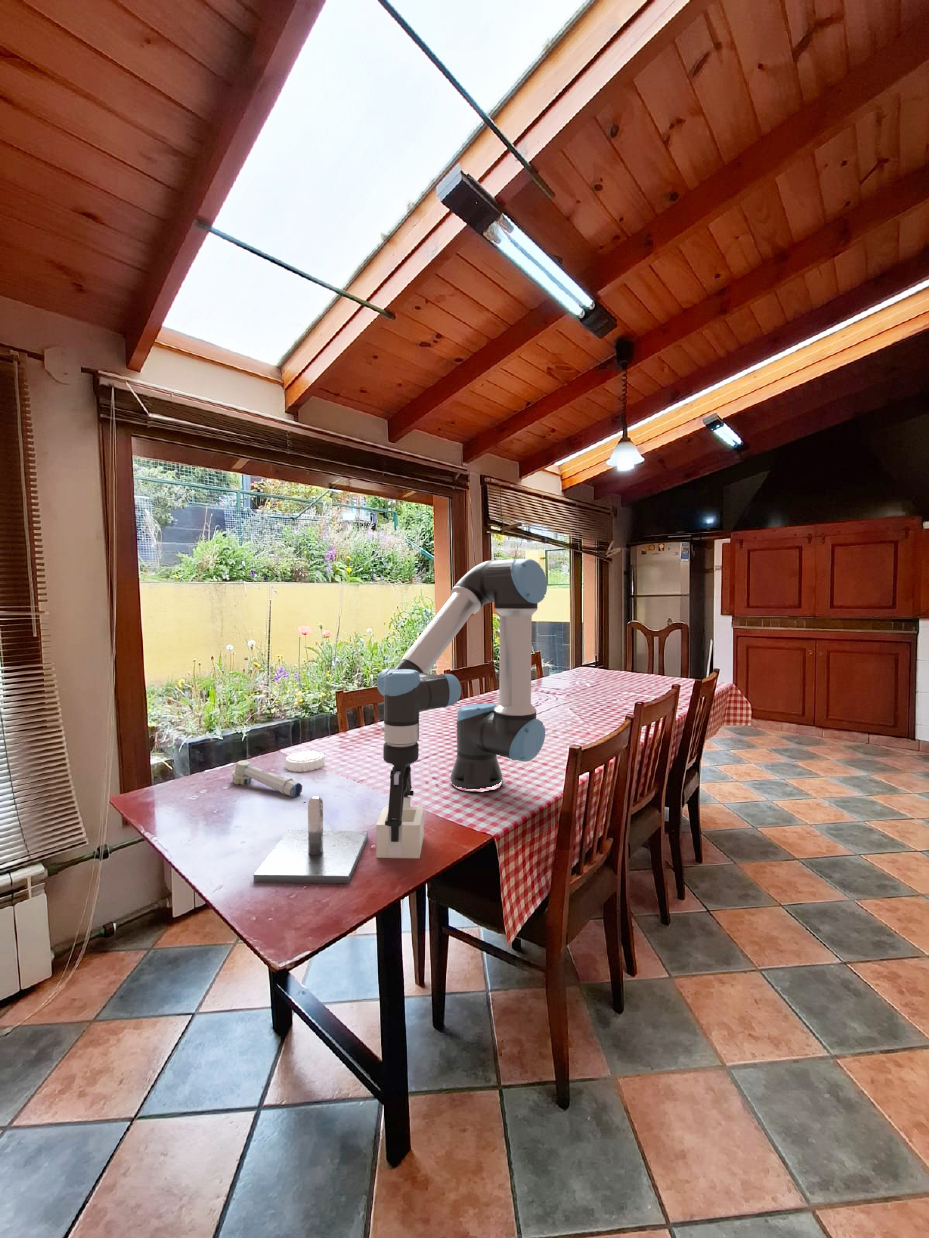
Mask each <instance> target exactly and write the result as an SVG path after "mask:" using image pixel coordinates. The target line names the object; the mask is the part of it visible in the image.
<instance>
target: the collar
mask: <svg viewBox="0 0 929 1238" xmlns="http://www.w3.org/2000/svg"><path fill="white" fill-rule="evenodd" d="M388 808H389V806H383V808H382V810H381V813H380V815H379V817H378V820H377V822H376V827H375V828H376V831H375V832H376V835H375V837H376V839H375V840H376V841H375V842H376V846H375V848H376V849H375V850H376V855H375V857H376V858H377V859H420V858H421V853H422V848H423V842H424V831H425V830H424V827H425V826H424V823H425V821H424V819H425V818H424V817H425V814H424V813H425V809H424V806H410V807H403V811H402V823H403V831H402V856H388V844H389V826H387V825H385V821H388Z"/></svg>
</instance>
